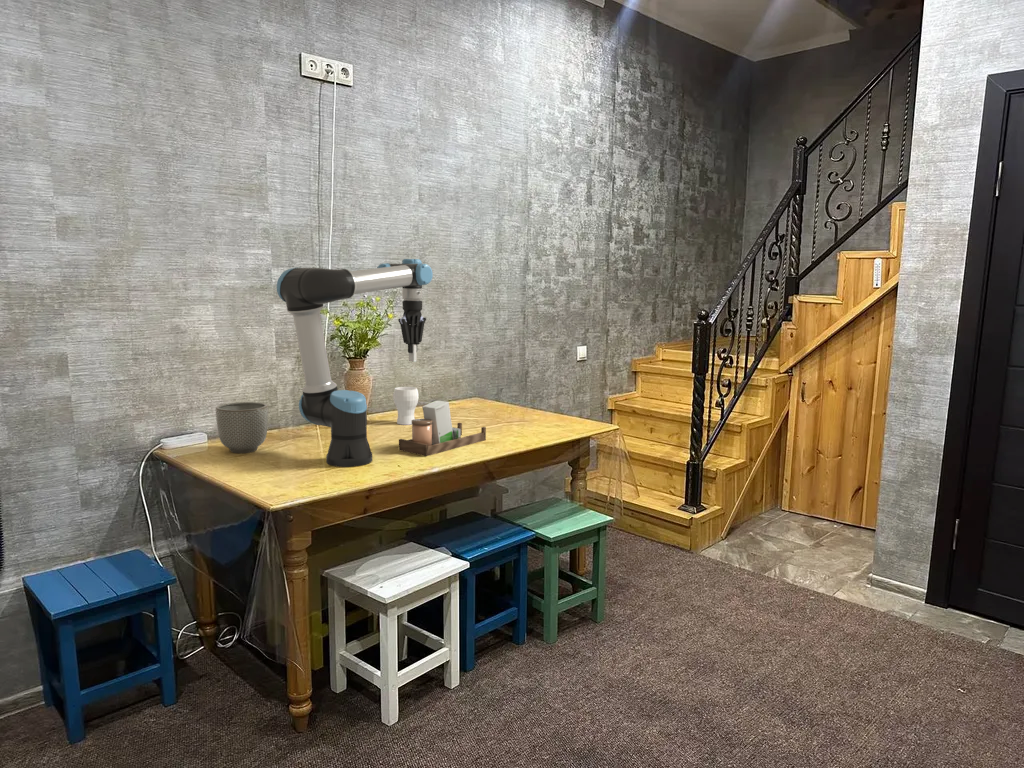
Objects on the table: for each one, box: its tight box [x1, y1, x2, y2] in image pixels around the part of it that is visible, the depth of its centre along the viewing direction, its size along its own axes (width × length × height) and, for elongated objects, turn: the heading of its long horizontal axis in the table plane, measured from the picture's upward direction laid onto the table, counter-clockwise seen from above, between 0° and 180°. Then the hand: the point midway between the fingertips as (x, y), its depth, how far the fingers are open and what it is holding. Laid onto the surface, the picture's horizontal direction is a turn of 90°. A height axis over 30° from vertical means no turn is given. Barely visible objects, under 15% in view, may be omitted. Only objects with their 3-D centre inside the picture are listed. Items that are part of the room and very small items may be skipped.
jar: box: [411, 418, 432, 446], centre depth 253 cm, size 7×7×11 cm
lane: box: [398, 422, 487, 457], centre depth 263 cm, size 33×13×5 cm, turn 143°
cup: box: [392, 386, 420, 426], centre depth 300 cm, size 11×11×15 cm
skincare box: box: [422, 400, 454, 445], centre depth 260 cm, size 8×7×16 cm
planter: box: [215, 401, 269, 454], centre depth 250 cm, size 17×17×16 cm
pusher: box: [452, 426, 462, 439], centre depth 267 cm, size 5×10×6 cm, turn 53°
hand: (412, 361), depth 274 cm, fingers closed
